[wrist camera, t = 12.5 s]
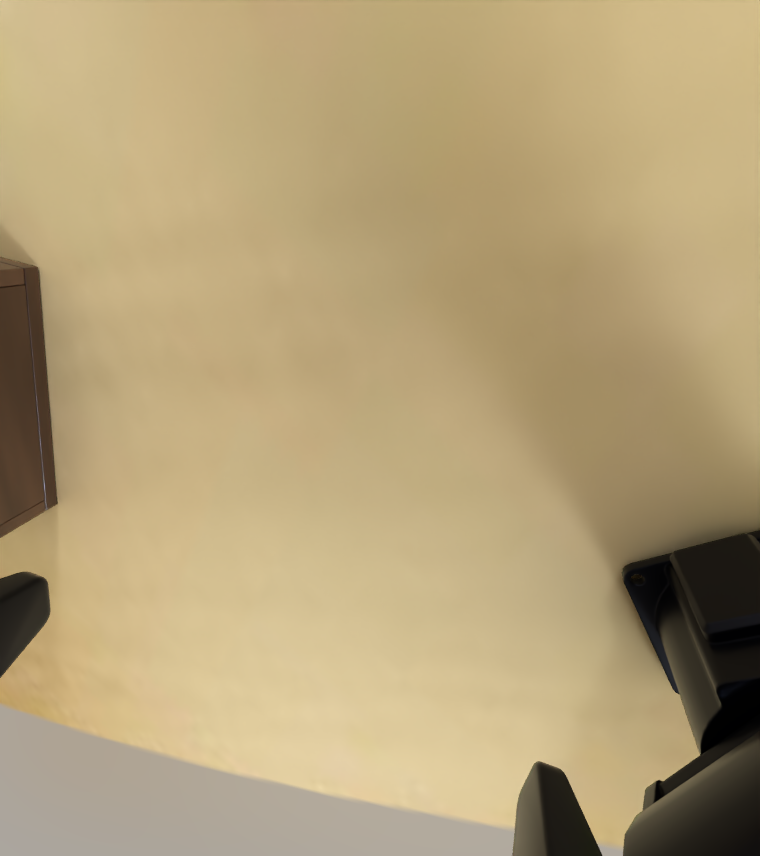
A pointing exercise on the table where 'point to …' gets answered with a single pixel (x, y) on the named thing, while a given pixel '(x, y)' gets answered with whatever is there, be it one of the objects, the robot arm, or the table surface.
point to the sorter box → (23, 401)
